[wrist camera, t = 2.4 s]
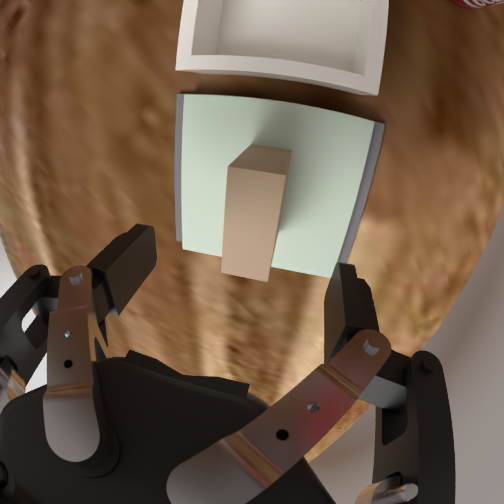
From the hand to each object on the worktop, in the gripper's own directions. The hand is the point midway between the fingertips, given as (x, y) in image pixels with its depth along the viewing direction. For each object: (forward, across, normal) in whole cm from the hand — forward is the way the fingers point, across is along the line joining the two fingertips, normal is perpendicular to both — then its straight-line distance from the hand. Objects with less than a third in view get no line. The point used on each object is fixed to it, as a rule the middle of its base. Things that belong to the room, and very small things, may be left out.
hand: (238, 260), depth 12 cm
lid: (+9, 0, 0) cm, 9 cm away
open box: (+9, 0, -13) cm, 16 cm away
